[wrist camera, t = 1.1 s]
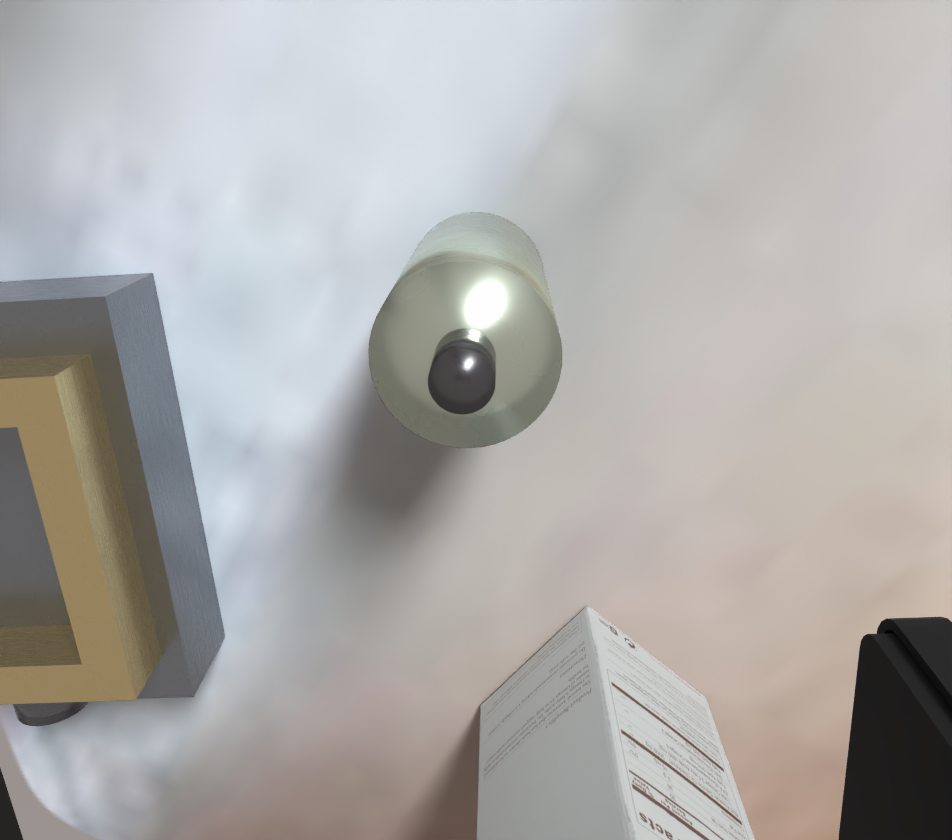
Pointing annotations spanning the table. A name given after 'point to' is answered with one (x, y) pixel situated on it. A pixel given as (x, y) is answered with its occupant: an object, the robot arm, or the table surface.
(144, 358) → the grey and gold box
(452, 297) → the pale green bottle
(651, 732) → the supplement box
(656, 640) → the table surface
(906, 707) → the robot arm
